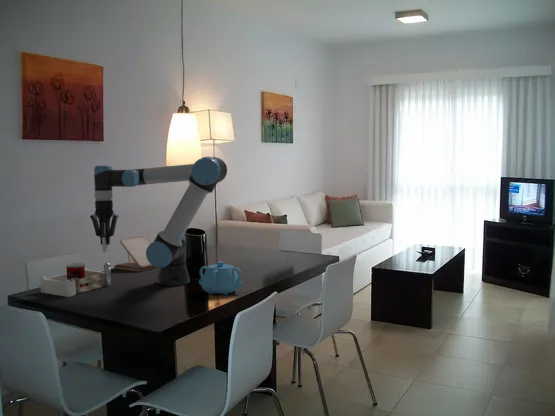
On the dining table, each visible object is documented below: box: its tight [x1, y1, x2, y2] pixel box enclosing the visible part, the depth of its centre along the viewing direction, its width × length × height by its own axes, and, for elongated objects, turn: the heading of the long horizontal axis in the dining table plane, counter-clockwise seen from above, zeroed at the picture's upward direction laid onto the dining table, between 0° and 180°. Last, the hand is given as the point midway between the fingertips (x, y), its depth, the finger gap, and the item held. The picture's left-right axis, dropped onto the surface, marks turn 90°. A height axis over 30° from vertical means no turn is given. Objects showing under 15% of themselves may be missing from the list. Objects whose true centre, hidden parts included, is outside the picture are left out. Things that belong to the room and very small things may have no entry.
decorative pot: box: [198, 260, 243, 296], centre depth 242 cm, size 16×16×14 cm
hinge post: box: [103, 262, 112, 287], centre depth 253 cm, size 3×3×11 cm
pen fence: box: [40, 266, 104, 298], centre depth 247 cm, size 17×25×7 cm
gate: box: [75, 274, 105, 294], centre depth 244 cm, size 15×1×6 cm, turn 151°
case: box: [113, 235, 158, 273], centre depth 297 cm, size 20×21×16 cm
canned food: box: [66, 262, 86, 287], centre depth 247 cm, size 8×8×11 cm
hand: (105, 251), depth 250 cm, fingers closed
